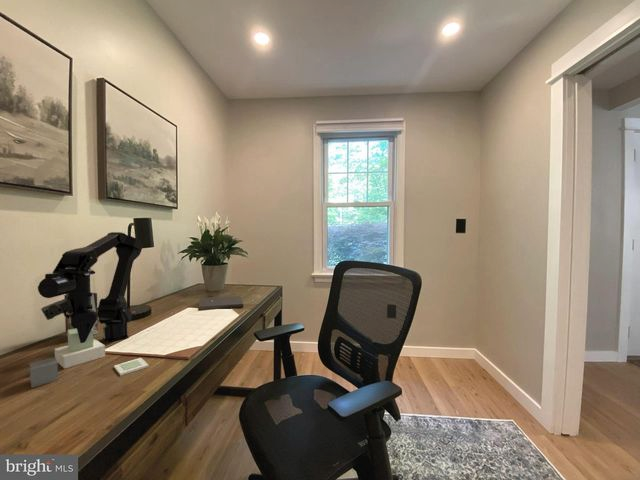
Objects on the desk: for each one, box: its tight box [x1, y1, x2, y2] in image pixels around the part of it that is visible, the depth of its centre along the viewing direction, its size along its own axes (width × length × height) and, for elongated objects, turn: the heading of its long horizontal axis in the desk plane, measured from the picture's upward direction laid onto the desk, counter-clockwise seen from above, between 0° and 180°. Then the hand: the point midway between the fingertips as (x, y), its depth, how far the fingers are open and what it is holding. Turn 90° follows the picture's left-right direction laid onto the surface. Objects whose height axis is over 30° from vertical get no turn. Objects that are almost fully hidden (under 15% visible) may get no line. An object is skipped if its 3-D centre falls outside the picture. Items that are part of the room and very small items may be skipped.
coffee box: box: [63, 292, 99, 337], centre depth 108 cm, size 9×6×16 cm
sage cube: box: [67, 328, 94, 352], centre depth 89 cm, size 6×6×6 cm
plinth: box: [54, 337, 106, 369], centre depth 89 cm, size 10×10×4 cm
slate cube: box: [29, 356, 59, 388], centre depth 76 cm, size 5×5×5 cm
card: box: [113, 357, 149, 377], centre depth 84 cm, size 7×7×1 cm
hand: (80, 338), depth 89 cm, fingers open, 9 cm apart
